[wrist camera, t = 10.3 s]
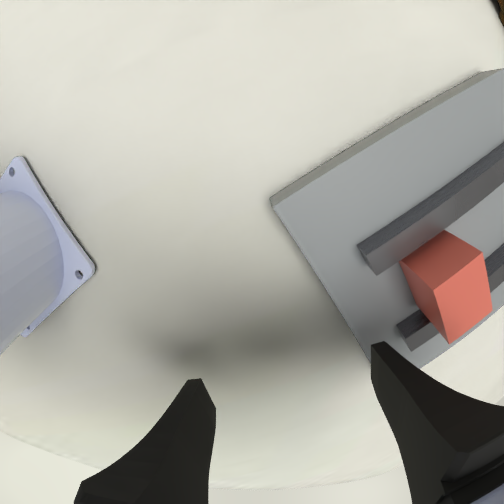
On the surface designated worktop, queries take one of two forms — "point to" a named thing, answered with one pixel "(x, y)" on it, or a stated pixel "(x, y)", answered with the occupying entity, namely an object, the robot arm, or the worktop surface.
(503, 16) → the hand tool
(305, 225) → the panel
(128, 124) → the worktop surface
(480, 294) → the lever
